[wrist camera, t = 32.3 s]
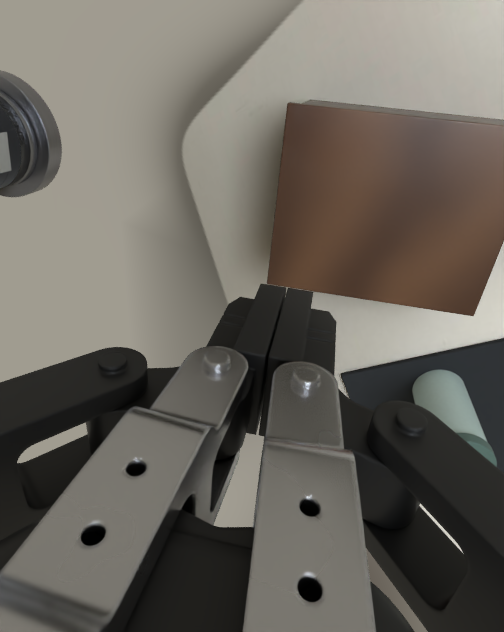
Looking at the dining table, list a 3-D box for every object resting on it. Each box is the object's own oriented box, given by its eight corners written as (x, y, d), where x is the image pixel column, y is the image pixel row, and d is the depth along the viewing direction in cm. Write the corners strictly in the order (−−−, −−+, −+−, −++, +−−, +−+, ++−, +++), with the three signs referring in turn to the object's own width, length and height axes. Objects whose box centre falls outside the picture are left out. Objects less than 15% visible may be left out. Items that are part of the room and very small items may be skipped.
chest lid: (268, 280, 33) (266, 284, 32) (288, 102, 27) (287, 102, 26) (470, 311, 31) (473, 316, 31) (543, 128, 25) (548, 130, 24)
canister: (417, 413, 45) (434, 491, 36) (405, 374, 43) (420, 447, 34) (471, 403, 43) (502, 483, 35) (460, 362, 41) (490, 436, 33)
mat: (389, 499, 53) (389, 502, 52) (341, 373, 45) (341, 376, 45) (575, 479, 46) (578, 483, 45) (555, 326, 38) (558, 329, 38)
